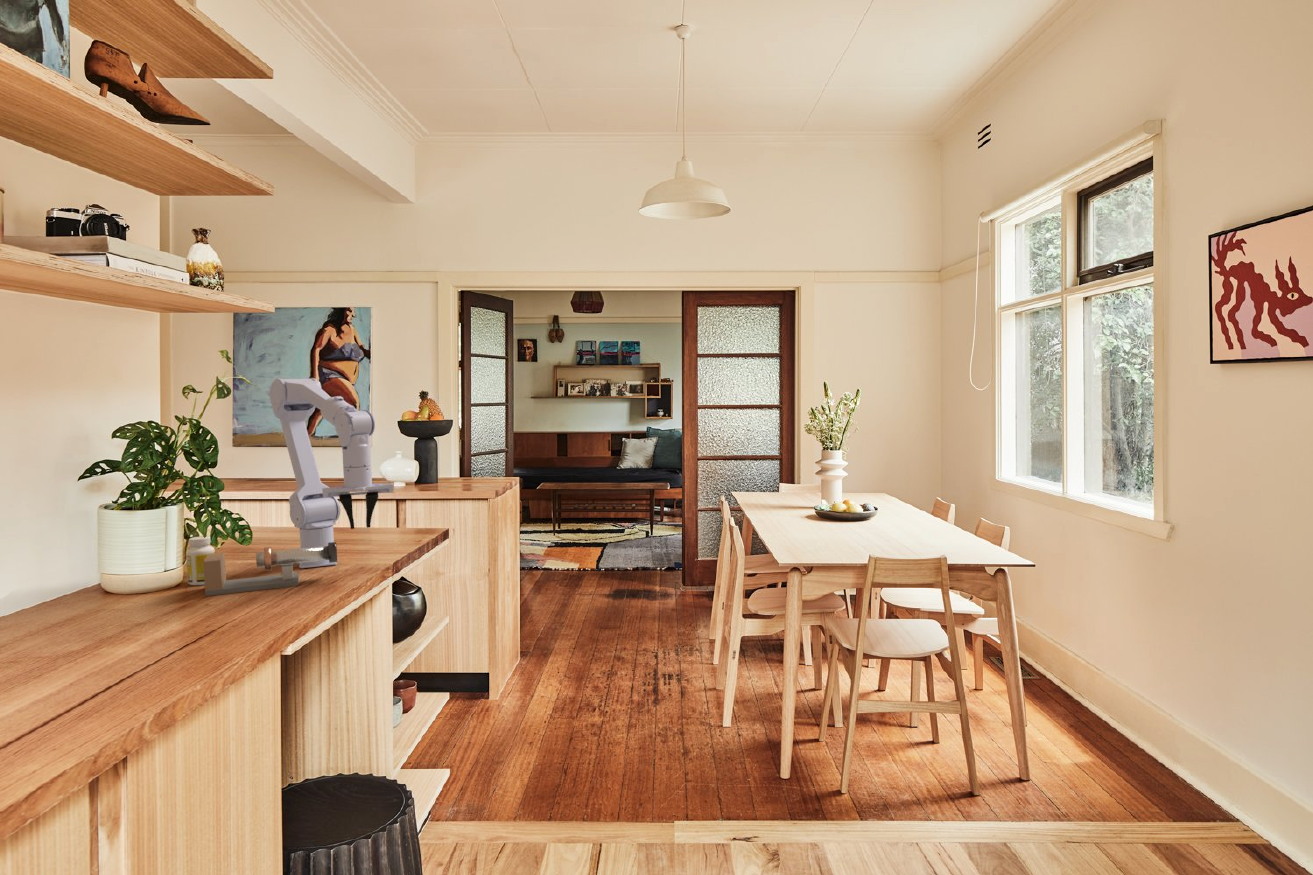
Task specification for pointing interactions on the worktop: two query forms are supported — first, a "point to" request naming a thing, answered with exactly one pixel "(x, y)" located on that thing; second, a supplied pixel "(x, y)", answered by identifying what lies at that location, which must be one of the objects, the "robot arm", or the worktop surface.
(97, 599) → the worktop surface
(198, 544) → the supplement bottle
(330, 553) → the shaft
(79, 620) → the worktop surface
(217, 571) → the shaft stand
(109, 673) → the worktop surface
